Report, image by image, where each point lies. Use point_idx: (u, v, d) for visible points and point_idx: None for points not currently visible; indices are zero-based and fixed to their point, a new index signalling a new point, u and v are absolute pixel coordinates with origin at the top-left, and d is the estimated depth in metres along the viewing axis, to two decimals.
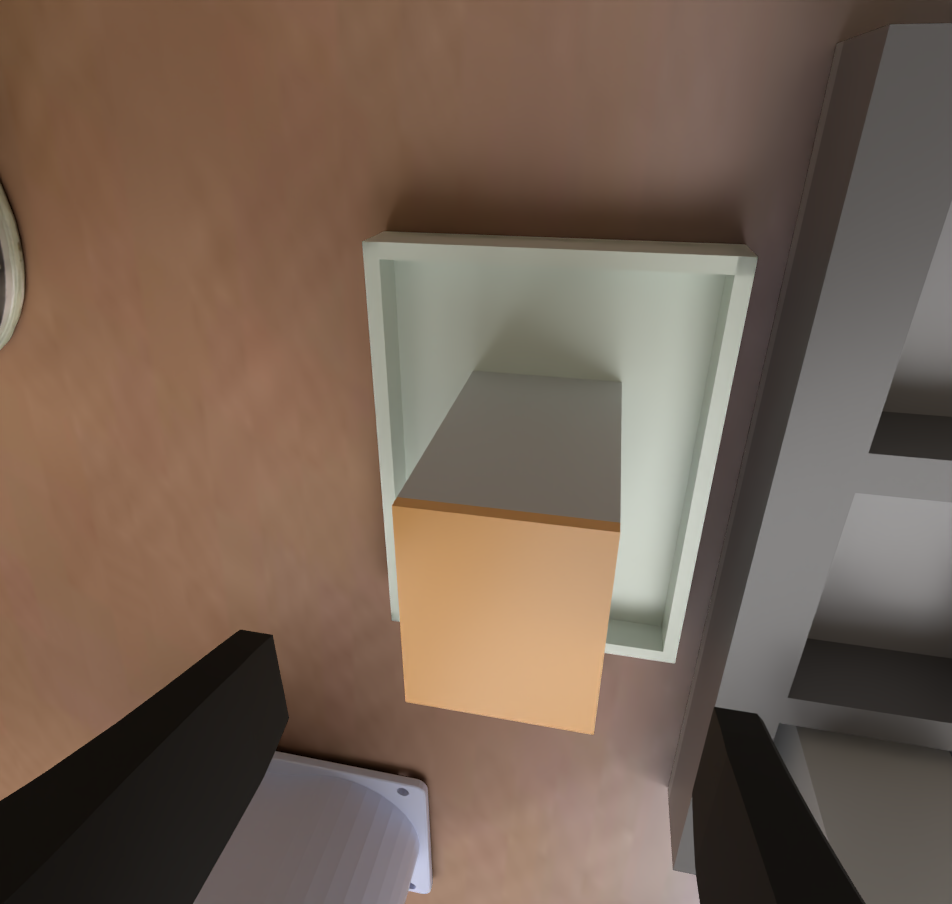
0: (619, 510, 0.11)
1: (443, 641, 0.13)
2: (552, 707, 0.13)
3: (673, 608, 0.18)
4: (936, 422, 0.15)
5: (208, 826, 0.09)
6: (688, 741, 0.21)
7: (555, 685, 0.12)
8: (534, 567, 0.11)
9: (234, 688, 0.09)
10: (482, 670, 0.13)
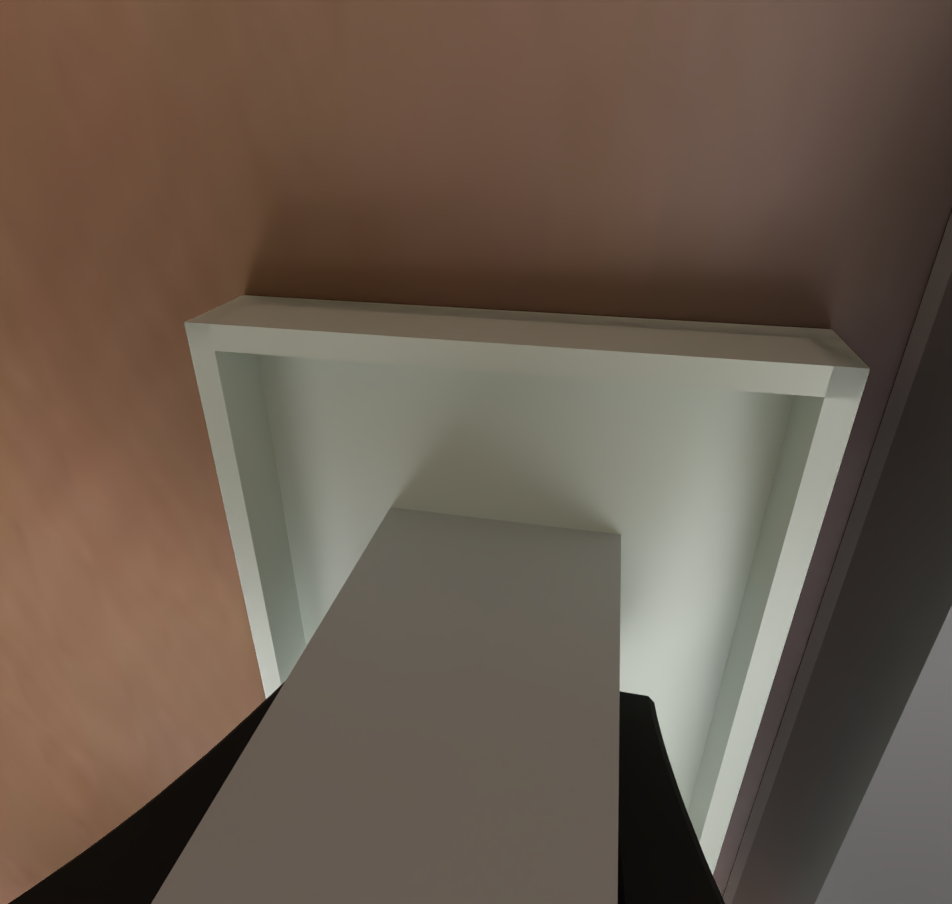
0: None
1: None
2: None
3: None
4: None
5: None
6: None
7: None
8: None
9: None
10: None
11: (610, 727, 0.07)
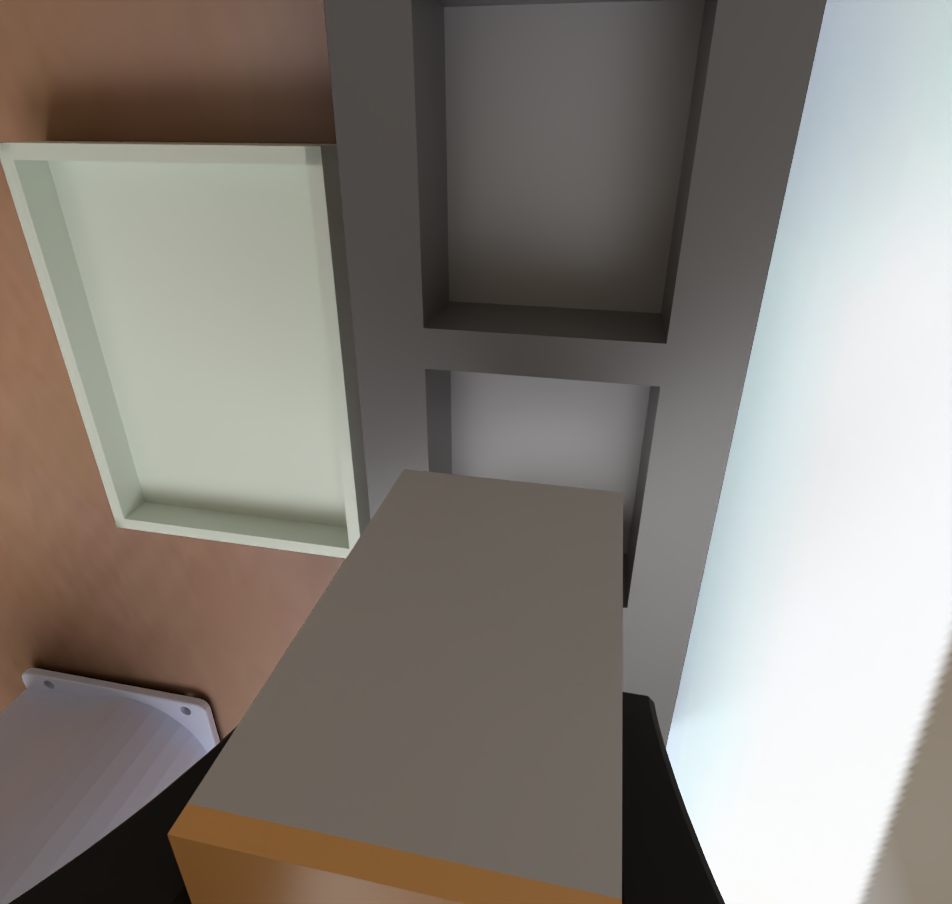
0: (619, 852, 0.06)
1: None
2: None
3: (346, 503, 0.19)
4: (525, 309, 0.16)
5: None
6: None
7: None
8: None
9: None
10: None
11: (614, 649, 0.08)
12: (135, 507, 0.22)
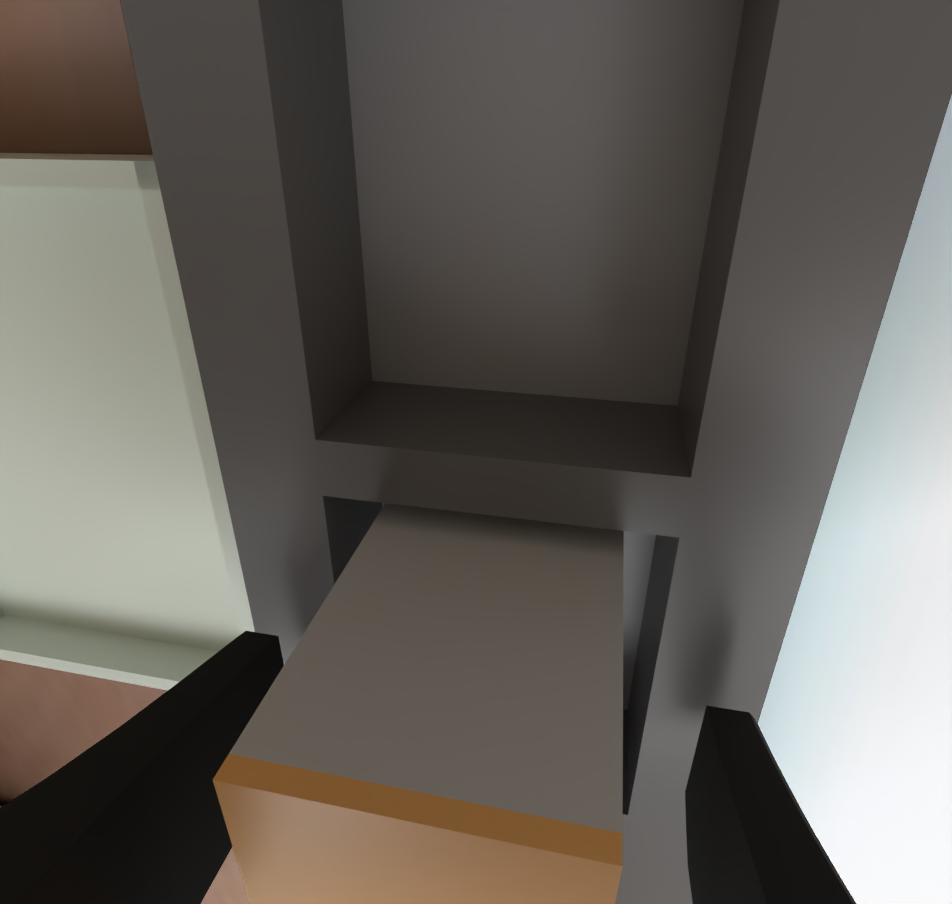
0: (620, 794, 0.06)
1: None
2: None
3: None
4: (479, 398, 0.11)
5: (215, 828, 0.09)
6: None
7: None
8: (467, 892, 0.06)
9: (240, 689, 0.09)
10: None
11: (615, 619, 0.08)
12: None
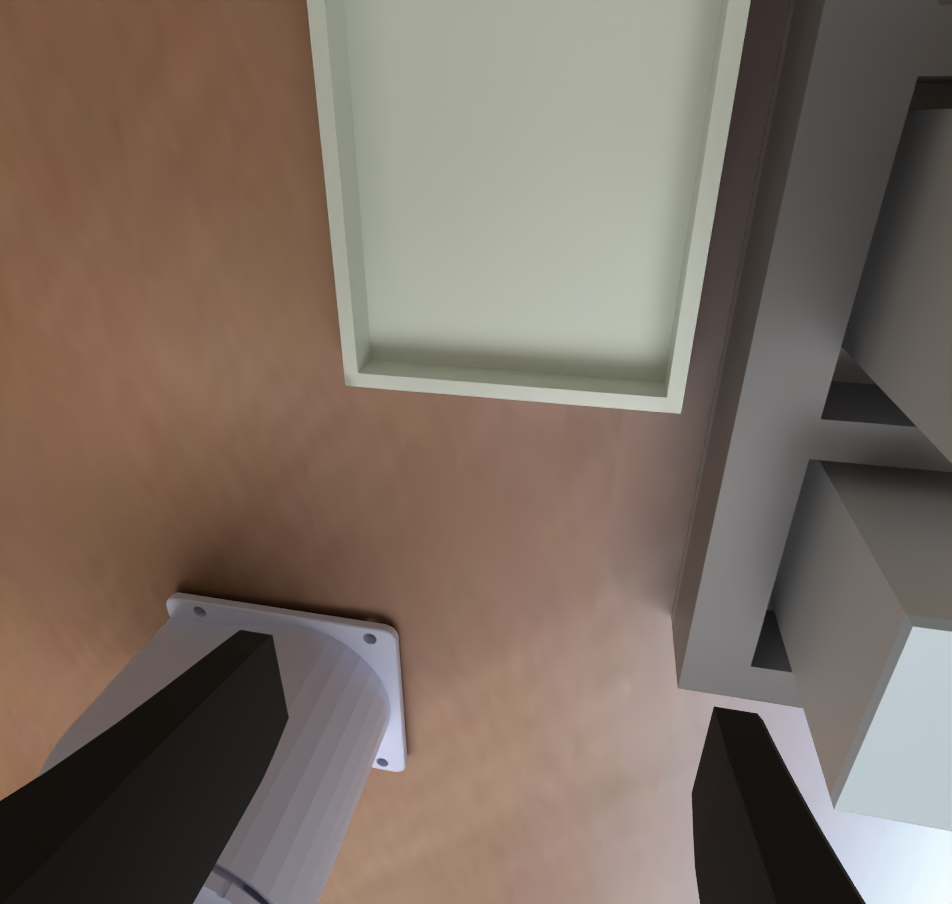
0: None
1: None
2: None
3: (679, 331, 0.15)
4: None
5: (208, 826, 0.09)
6: (696, 532, 0.18)
7: None
8: None
9: (233, 688, 0.09)
10: None
11: None
12: (365, 362, 0.18)
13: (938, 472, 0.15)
